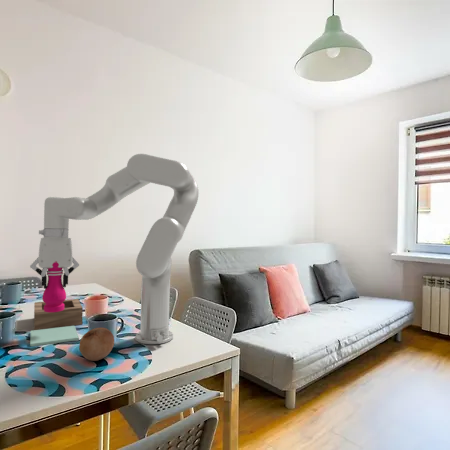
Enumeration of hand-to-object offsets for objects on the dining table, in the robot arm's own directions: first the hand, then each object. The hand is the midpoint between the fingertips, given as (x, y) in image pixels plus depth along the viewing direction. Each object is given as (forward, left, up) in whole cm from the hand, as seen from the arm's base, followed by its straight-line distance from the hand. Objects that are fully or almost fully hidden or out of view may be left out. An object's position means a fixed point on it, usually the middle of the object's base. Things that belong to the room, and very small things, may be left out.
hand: (54, 286), depth 115 cm
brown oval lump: (-25, -10, -17) cm, 32 cm away
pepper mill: (0, 0, -8) cm, 8 cm away
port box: (+18, -2, -17) cm, 25 cm away
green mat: (0, 0, -17) cm, 17 cm away
